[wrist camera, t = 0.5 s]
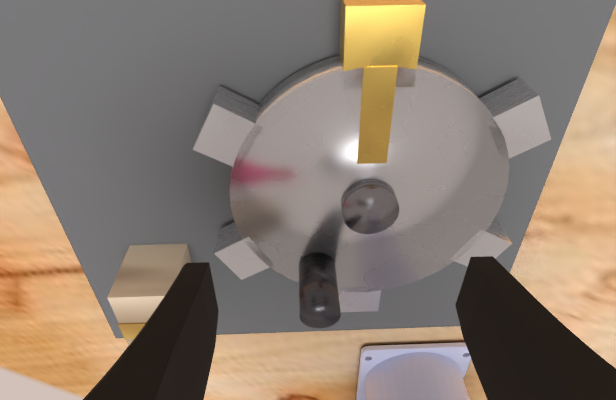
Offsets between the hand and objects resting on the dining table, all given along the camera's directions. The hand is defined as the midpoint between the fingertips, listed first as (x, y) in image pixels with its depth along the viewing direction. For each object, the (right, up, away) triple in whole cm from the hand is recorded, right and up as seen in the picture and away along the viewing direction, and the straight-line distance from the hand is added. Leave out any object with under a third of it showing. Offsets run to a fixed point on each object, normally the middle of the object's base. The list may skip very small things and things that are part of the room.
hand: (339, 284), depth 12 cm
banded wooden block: (-9, -2, +12) cm, 15 cm away
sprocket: (+2, +3, +8) cm, 9 cm away
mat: (-1, +2, +10) cm, 11 cm away
